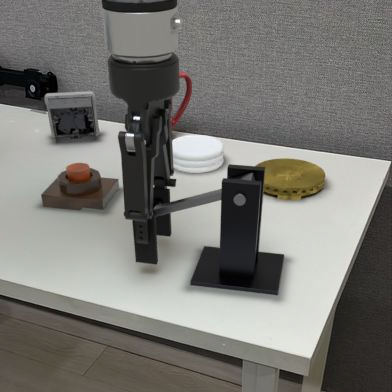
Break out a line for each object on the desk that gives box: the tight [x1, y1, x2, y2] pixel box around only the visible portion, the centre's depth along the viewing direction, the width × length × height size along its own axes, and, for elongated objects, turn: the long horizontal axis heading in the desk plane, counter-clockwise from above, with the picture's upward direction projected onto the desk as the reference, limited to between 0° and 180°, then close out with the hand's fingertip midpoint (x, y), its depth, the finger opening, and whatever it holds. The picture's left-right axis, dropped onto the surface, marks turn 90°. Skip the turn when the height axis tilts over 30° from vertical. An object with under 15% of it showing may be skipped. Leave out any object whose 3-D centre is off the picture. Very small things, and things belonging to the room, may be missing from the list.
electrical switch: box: [44, 90, 100, 143], centre depth 107 cm, size 9×5×9 cm, turn 99°
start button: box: [65, 162, 91, 182], centre depth 88 cm, size 4×4×2 cm
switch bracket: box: [189, 164, 285, 296], centre depth 69 cm, size 11×9×14 cm
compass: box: [255, 157, 326, 201], centre depth 94 cm, size 12×12×2 cm
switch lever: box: [153, 173, 255, 216], centre depth 68 cm, size 14×6×2 cm, turn 78°
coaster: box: [172, 134, 225, 174], centre depth 100 cm, size 10×10×4 cm
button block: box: [40, 167, 120, 211], centre depth 89 cm, size 10×8×4 cm
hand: (154, 247), depth 73 cm, fingers open, 6 cm apart
